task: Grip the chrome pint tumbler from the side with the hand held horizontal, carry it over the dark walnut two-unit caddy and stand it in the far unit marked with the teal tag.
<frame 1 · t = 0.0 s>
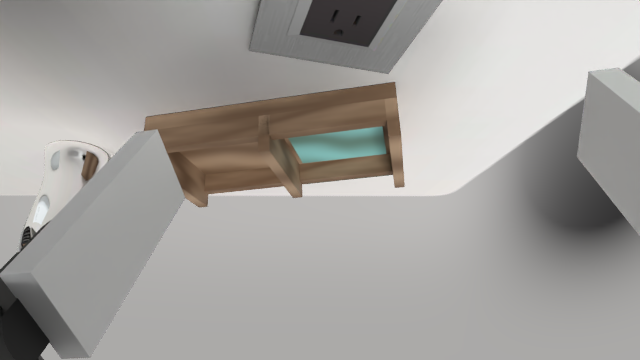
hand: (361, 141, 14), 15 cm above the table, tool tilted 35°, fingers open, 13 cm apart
chrome pint tumbler: (78, 151, 48), on the table
caddy: (282, 131, 45), on the table
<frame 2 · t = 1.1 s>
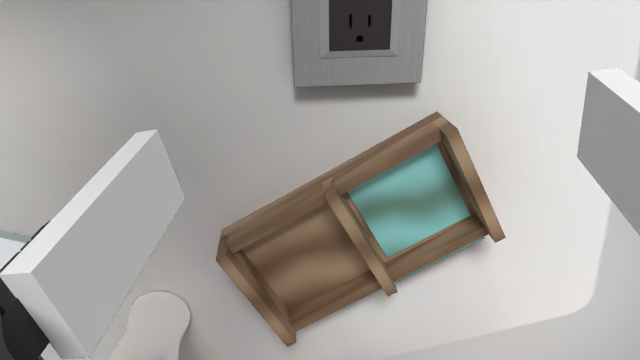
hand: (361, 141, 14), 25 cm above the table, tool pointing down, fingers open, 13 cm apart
chrome pint tumbler: (161, 312, 47), on the table
caddy: (354, 220, 44), on the table
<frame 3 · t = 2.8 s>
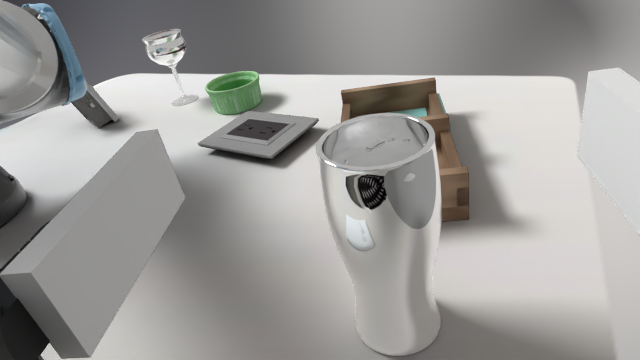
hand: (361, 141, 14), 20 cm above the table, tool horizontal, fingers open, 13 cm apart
electrical outlet: (261, 145, 63), on the table
chrome pint tumbler: (397, 322, 33), on the table
caddy: (395, 161, 51), on the table
wineglass: (185, 101, 83), on the table
ramekin: (239, 106, 76), on the table
electrical switch: (99, 122, 81), on the table
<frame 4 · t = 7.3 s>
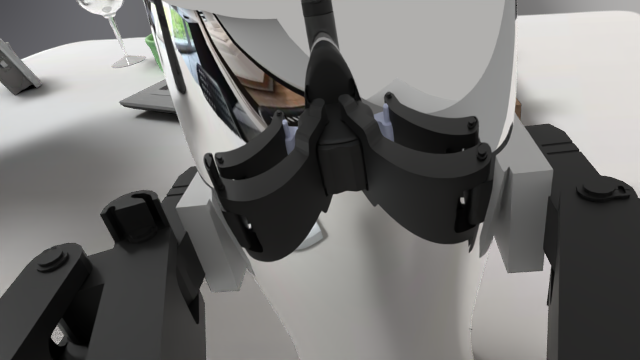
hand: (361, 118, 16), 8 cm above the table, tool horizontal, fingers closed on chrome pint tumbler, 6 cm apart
electrical outlet: (209, 105, 46), on the table
wineglass: (129, 63, 66), on the table
electrical switch: (19, 89, 65), on the table
when the fingers open (11 cm above the table, at t = 12.3 s): chrome pint tumbler drops 1 cm, resting on caddy.
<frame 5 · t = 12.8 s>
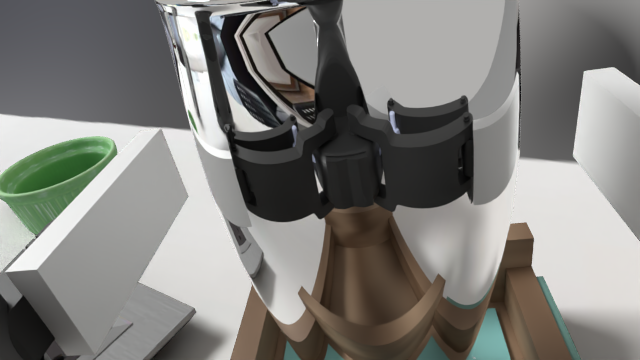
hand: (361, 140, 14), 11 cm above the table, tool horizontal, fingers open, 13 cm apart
ramekin: (82, 209, 37), on the table
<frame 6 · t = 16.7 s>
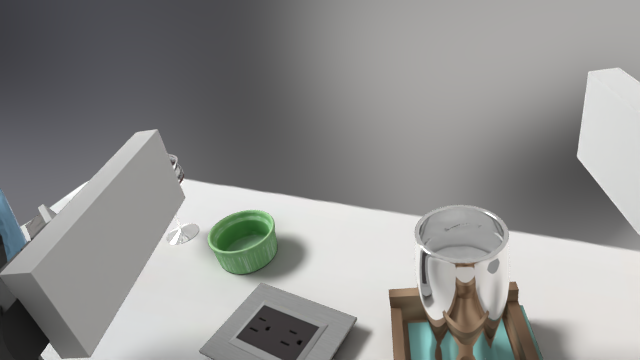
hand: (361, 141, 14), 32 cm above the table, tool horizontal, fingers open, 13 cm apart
electrical outlet: (282, 348, 48), on the table
wineglass: (183, 234, 69), on the table
ramekin: (249, 255, 62), on the table
electrical switch: (78, 264, 67), on the table
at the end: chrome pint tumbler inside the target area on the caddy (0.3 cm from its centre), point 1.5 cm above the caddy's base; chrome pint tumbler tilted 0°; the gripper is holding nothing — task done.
